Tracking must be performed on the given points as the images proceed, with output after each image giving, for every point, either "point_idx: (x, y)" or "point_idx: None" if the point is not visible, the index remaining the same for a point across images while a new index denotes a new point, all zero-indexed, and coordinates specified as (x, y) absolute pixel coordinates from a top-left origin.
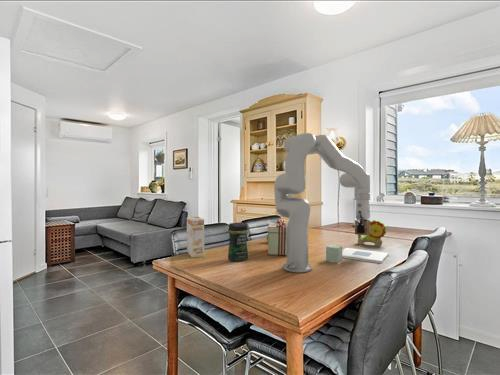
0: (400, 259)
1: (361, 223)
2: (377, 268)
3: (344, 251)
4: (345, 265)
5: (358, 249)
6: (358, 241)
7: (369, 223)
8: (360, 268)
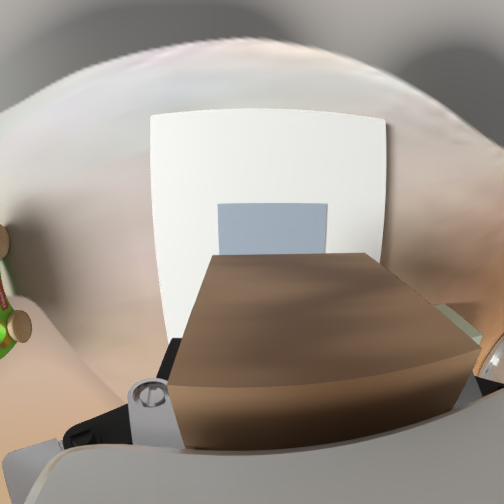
0: (222, 45)
1: (473, 383)
2: (455, 137)
3: None
4: (466, 266)
5: (167, 305)
6: (27, 336)
7: (249, 332)
8: (480, 203)
